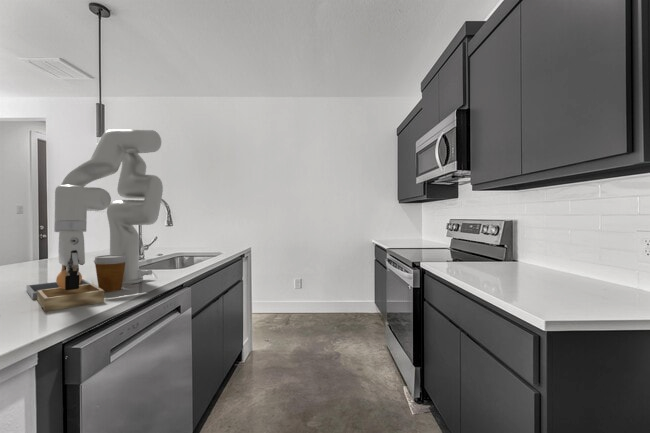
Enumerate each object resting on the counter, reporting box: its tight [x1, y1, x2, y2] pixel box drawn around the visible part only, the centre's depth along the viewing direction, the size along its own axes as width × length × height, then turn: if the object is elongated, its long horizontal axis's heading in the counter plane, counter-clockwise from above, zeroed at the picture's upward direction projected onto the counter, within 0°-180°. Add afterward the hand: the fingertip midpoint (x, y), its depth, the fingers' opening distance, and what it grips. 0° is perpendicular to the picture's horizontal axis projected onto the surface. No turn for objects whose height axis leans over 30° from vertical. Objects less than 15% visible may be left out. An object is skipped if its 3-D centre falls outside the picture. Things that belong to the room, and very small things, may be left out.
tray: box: [36, 283, 105, 312], centre depth 97 cm, size 14×14×4 cm
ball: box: [55, 269, 83, 289], centre depth 97 cm, size 6×6×6 cm
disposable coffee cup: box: [93, 254, 127, 293], centre depth 111 cm, size 10×10×12 cm
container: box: [26, 278, 92, 301], centre depth 108 cm, size 15×15×2 cm
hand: (69, 287), depth 97 cm, fingers closed on ball, 6 cm apart
